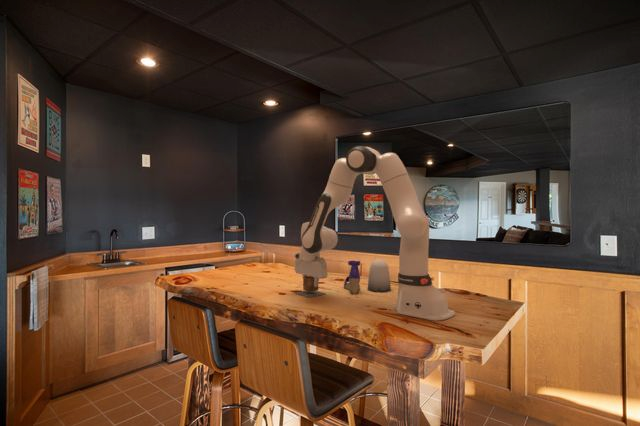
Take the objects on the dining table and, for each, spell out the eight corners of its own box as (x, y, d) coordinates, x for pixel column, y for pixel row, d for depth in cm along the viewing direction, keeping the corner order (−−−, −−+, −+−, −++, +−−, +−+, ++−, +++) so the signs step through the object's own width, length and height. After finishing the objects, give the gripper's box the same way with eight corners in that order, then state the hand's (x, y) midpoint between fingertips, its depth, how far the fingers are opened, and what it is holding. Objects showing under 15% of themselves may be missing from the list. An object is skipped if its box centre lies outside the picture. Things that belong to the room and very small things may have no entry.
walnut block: (318, 290, 168) (318, 277, 168) (309, 291, 165) (309, 278, 164) (311, 288, 172) (311, 275, 171) (303, 289, 168) (303, 277, 168)
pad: (325, 294, 168) (325, 293, 168) (308, 298, 161) (308, 296, 161) (312, 290, 175) (312, 289, 175) (295, 293, 169) (295, 292, 169)
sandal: (359, 285, 187) (359, 256, 186) (360, 295, 167) (360, 262, 167) (343, 285, 187) (343, 256, 187) (343, 294, 168) (343, 262, 167)
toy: (390, 287, 181) (390, 257, 181) (391, 292, 170) (391, 261, 170) (368, 286, 183) (368, 257, 183) (367, 291, 172) (367, 260, 172)
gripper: (330, 257, 162) (330, 288, 162) (302, 253, 177) (302, 281, 178) (319, 258, 158) (320, 290, 158) (292, 254, 173) (292, 283, 174)
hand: (310, 285), depth 168 cm, fingers closed on walnut block, 5 cm apart
